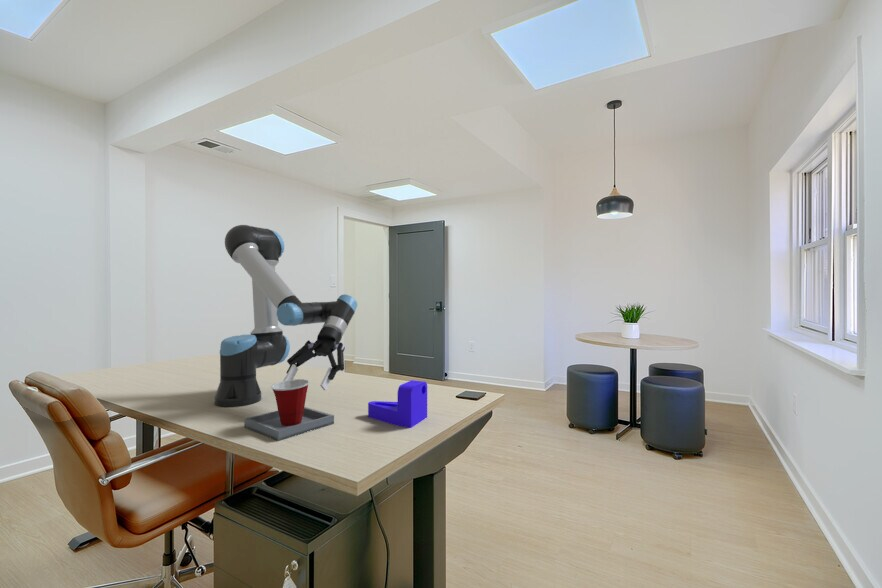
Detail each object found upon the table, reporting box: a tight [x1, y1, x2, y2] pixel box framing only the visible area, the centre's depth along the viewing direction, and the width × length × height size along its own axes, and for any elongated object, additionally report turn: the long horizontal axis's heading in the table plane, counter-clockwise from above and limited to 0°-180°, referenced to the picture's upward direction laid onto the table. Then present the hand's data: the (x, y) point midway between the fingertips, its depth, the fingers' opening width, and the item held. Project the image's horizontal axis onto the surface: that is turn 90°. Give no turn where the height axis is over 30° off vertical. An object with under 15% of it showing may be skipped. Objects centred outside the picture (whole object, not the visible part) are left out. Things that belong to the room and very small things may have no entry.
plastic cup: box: [270, 378, 310, 426], centre depth 121 cm, size 11×11×12 cm
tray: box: [243, 406, 335, 442], centre depth 121 cm, size 18×18×2 cm
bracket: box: [367, 380, 428, 429], centre depth 127 cm, size 18×11×12 cm, turn 67°
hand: (304, 386), depth 126 cm, fingers open, 13 cm apart
